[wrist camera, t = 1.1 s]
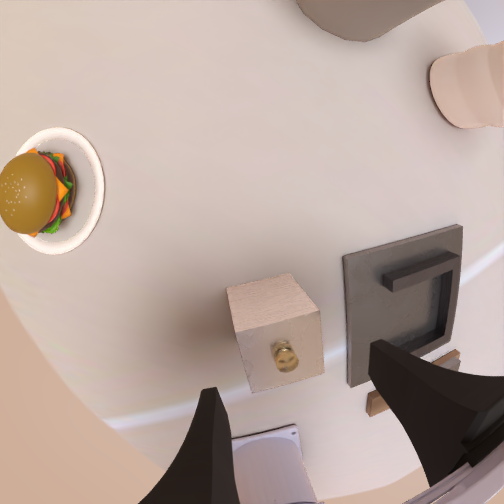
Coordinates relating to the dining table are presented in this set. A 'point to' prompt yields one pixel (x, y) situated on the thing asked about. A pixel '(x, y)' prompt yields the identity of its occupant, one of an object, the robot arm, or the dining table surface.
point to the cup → (362, 15)
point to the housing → (276, 331)
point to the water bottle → (471, 86)
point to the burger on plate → (46, 191)
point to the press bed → (402, 296)
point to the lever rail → (378, 403)
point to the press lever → (451, 364)
